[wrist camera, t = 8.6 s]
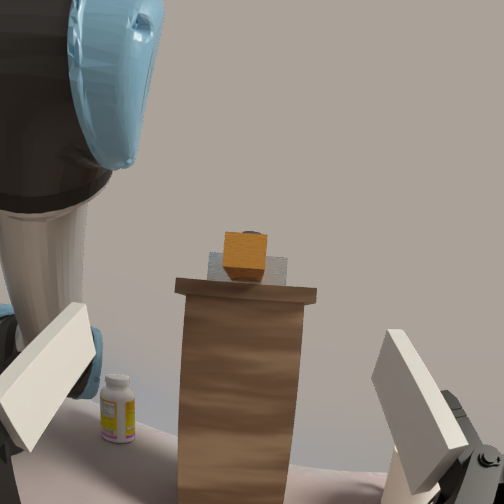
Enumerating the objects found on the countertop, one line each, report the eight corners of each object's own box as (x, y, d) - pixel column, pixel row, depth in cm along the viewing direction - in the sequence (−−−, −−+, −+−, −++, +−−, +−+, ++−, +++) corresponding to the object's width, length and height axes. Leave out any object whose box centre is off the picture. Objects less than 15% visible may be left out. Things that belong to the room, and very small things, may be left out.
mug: (368, 487, 36) (380, 431, 38) (415, 482, 35) (429, 427, 37) (386, 528, 25) (405, 463, 27) (443, 517, 24) (464, 453, 25)
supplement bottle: (131, 431, 54) (132, 373, 56) (138, 444, 48) (138, 381, 50) (99, 430, 50) (99, 370, 53) (103, 443, 45) (101, 379, 47)
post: (287, 535, 26) (316, 288, 31) (168, 524, 26) (176, 277, 31) (279, 483, 39) (297, 295, 45) (188, 476, 40) (198, 288, 45)
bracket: (300, 275, 22) (303, 182, 24) (187, 266, 23) (198, 176, 24) (278, 293, 42) (281, 241, 43) (217, 288, 42) (222, 237, 44)
